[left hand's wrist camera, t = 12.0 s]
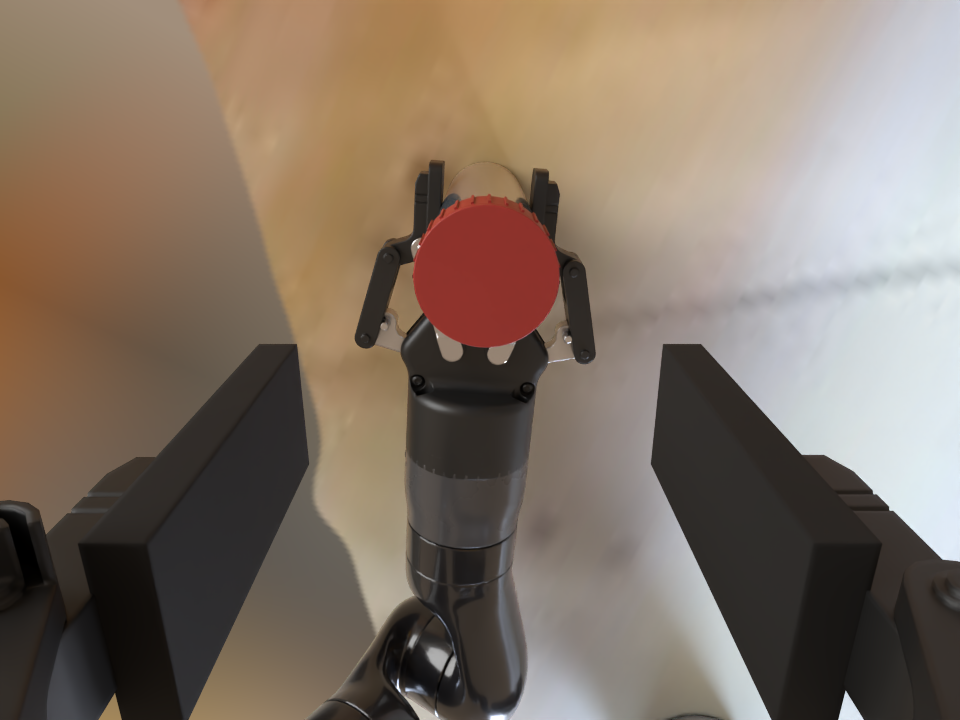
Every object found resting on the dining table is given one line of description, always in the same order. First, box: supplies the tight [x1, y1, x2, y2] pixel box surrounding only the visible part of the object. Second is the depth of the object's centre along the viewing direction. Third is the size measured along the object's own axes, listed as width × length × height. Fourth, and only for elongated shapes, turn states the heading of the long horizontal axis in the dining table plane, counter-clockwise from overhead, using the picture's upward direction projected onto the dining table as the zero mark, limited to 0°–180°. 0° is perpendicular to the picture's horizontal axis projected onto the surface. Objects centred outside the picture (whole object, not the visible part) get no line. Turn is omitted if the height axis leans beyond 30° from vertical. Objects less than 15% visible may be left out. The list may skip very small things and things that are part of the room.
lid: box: [412, 194, 560, 348], centre depth 25 cm, size 5×5×2 cm
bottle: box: [437, 162, 532, 217], centre depth 33 cm, size 5×5×19 cm
